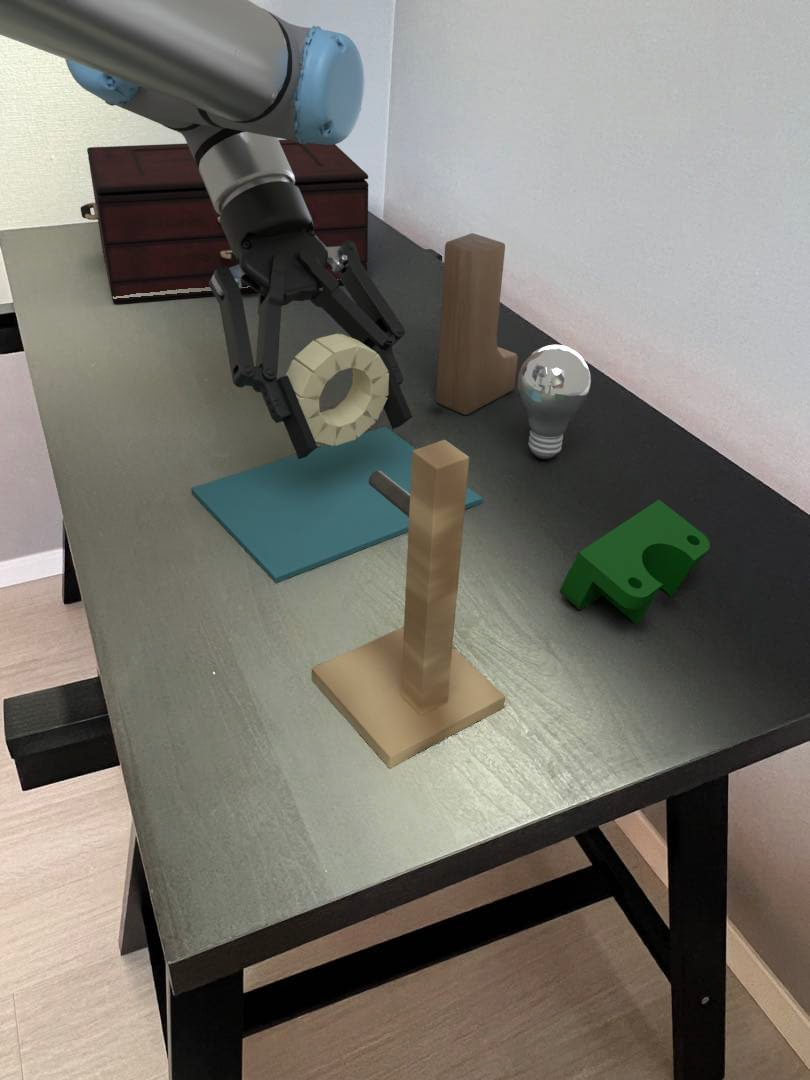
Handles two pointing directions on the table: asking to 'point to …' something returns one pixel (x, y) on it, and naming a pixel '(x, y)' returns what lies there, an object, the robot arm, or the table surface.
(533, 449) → the light bulb
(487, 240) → the wooden block
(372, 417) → the segmented ring
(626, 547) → the clamp
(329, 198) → the storage box
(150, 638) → the table surface
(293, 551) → the mat
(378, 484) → the hook stand
